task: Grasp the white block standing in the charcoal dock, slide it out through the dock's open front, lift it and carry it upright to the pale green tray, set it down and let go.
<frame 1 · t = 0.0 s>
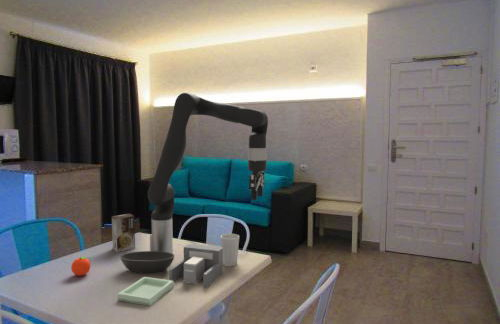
hand: (257, 198, 155), 29 cm above the table, fingers open, 8 cm apart
bay: (195, 278, 145), on the table
coffee box: (123, 248, 181), on the table
cup: (229, 264, 161), on the table
tray: (146, 293, 131), on the table
bowl: (147, 271, 153), on the table
clementine: (82, 275, 148), on the table
white block: (194, 279, 144), on the table
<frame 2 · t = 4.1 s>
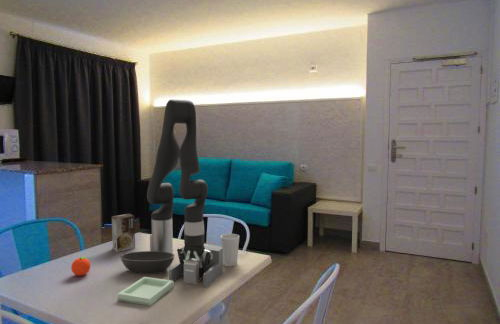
hand: (194, 275, 144), 1 cm above the table, fingers closed on white block, 5 cm apart
white block: (194, 279, 144), on the table, touching gripper
everything else where it was.
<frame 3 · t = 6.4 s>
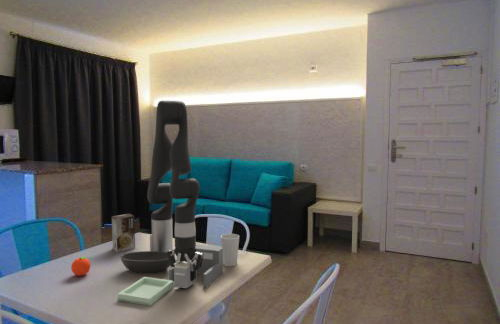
hand: (185, 279, 136), 3 cm above the table, fingers closed on white block, 5 cm apart
white block: (185, 283, 136), point 1 cm above the table, touching gripper
everything else where it was.
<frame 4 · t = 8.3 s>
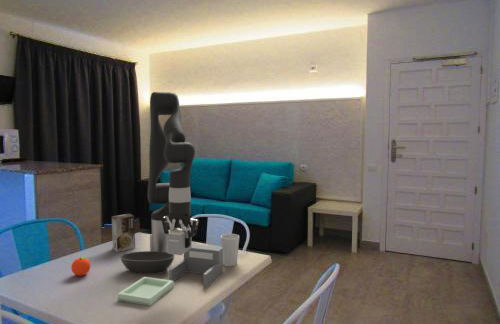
hand: (180, 246, 132), 16 cm above the table, fingers closed on white block, 5 cm apart
white block: (180, 250, 132), point 15 cm above the table, touching gripper
everything else where it was.
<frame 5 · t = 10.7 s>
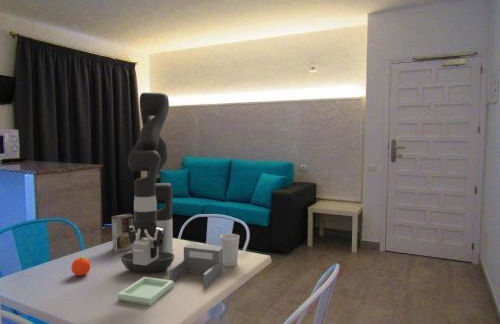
hand: (146, 256, 130), 13 cm above the table, fingers closed on white block, 5 cm apart
white block: (146, 260, 130), point 12 cm above the table, touching gripper
everything else where it was.
when the fingers open (4 cm above the table, at t = 12.8 s): white block drops 1 cm, resting on tray.
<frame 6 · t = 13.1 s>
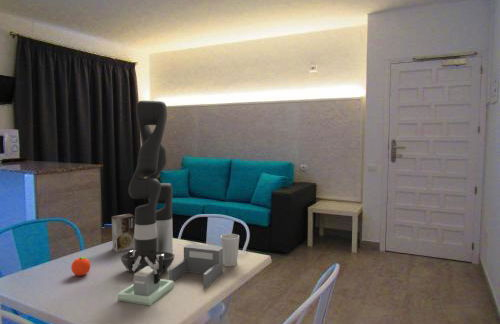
hand: (146, 281, 130), 4 cm above the table, fingers open, 7 cm apart
white block: (146, 291, 131), point 1 cm above the table, touching tray
everything else where it was.
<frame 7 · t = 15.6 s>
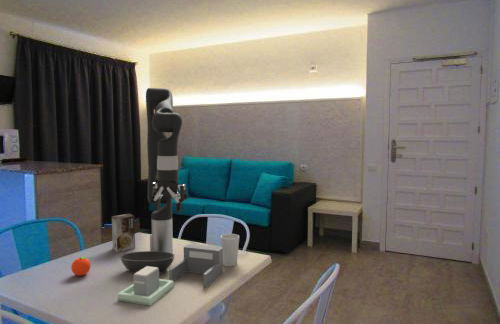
hand: (168, 211, 138), 27 cm above the table, fingers open, 8 cm apart
nothing on the table moved.
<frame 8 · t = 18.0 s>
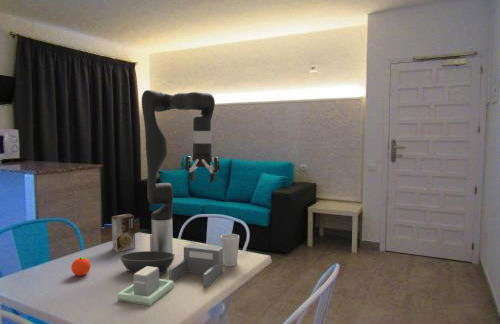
hand: (202, 181, 153), 36 cm above the table, fingers open, 8 cm apart
nothing on the table moved.
at the end: white block inside the target area on the tray (0.0 cm from its centre), point 0.8 cm above the tray's base; white block tilted 0°; the gripper is holding nothing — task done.
